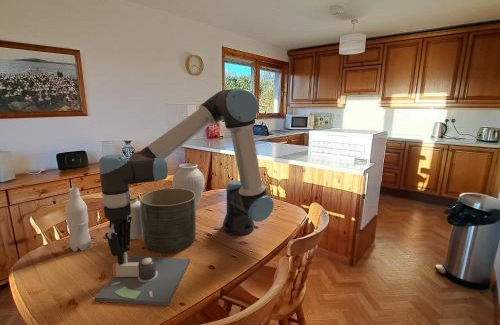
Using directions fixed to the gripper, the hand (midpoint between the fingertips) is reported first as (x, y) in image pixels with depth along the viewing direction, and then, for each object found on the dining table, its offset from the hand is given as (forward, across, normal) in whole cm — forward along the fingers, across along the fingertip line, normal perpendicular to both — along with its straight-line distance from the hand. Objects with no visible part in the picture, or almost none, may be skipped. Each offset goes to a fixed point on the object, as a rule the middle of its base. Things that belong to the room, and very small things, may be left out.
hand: (123, 269), depth 86 cm
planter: (+3, -25, +8) cm, 27 cm away
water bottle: (+3, -17, -25) cm, 31 cm away
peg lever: (+1, +1, +4) cm, 5 cm away
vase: (+4, -63, +8) cm, 64 cm away
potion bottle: (+3, -28, -9) cm, 30 cm away
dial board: (+3, +1, +8) cm, 9 cm away
